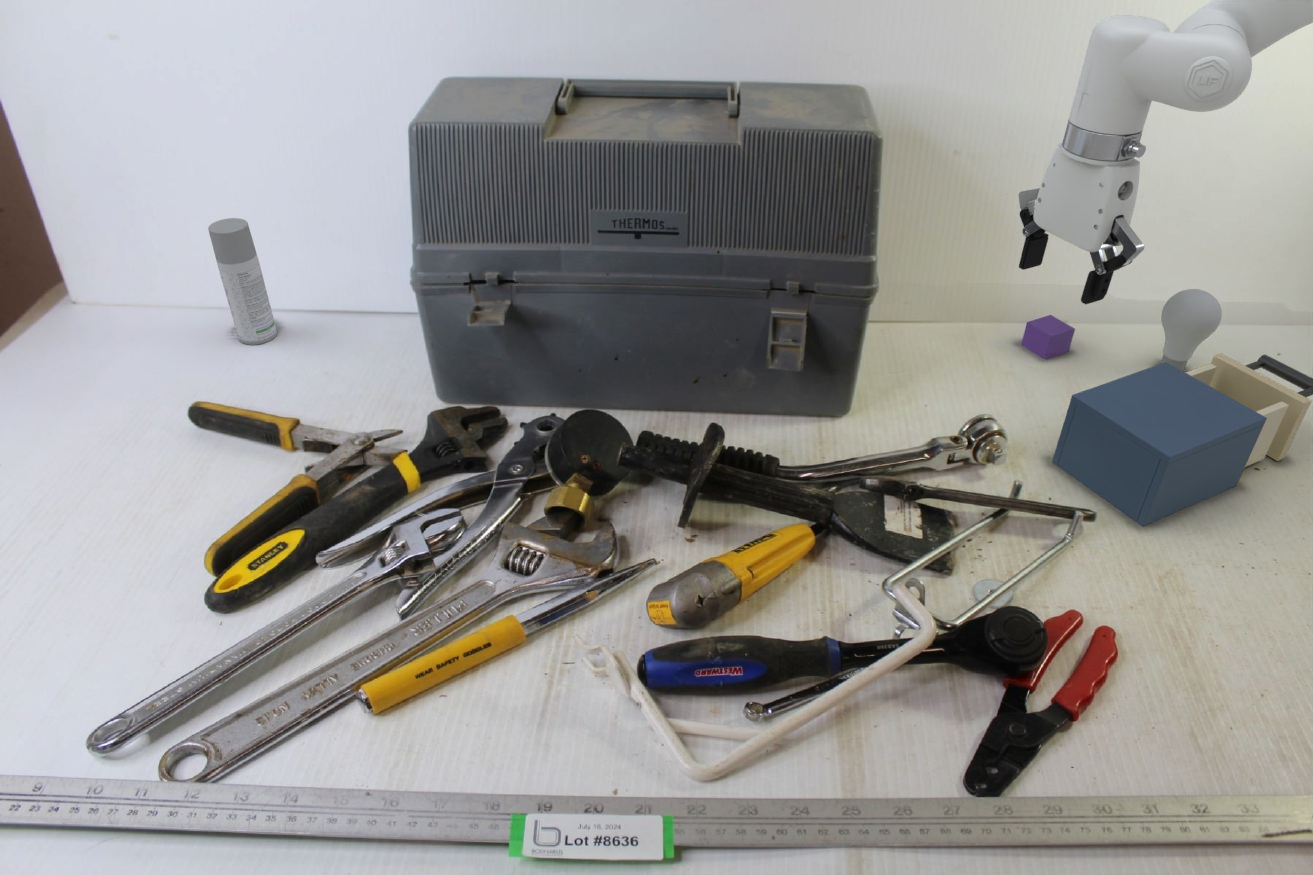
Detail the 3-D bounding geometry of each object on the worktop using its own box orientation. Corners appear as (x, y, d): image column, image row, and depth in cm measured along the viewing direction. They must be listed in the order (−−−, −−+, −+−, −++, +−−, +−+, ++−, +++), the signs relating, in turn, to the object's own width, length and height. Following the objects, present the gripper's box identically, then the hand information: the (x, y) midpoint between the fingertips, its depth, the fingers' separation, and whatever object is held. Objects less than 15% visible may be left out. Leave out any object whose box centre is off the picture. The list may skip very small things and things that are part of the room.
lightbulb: (1204, 389, 114) (1237, 306, 107) (1149, 385, 114) (1178, 302, 108) (1189, 362, 119) (1220, 281, 112) (1136, 358, 119) (1164, 277, 113)
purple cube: (1043, 342, 123) (1050, 314, 120) (1067, 357, 120) (1075, 328, 117) (1019, 349, 121) (1026, 321, 119) (1043, 364, 118) (1051, 336, 116)
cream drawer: (1232, 395, 111) (1255, 340, 107) (1318, 443, 104) (1347, 386, 99) (1120, 438, 104) (1140, 381, 100) (1204, 493, 97) (1229, 434, 92)
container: (231, 336, 123) (199, 226, 115) (264, 323, 126) (235, 214, 118) (251, 349, 121) (220, 237, 112) (284, 334, 124) (256, 224, 115)
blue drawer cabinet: (1140, 432, 107) (1166, 361, 101) (1234, 491, 98) (1267, 417, 93) (1049, 467, 102) (1071, 394, 96) (1140, 532, 93) (1170, 457, 88)
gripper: (1192, 161, 100) (1141, 308, 110) (1064, 113, 112) (1029, 249, 122) (1142, 173, 97) (1094, 322, 107) (1016, 122, 109) (984, 260, 120)
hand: (1059, 283), depth 115 cm, fingers open, 9 cm apart
